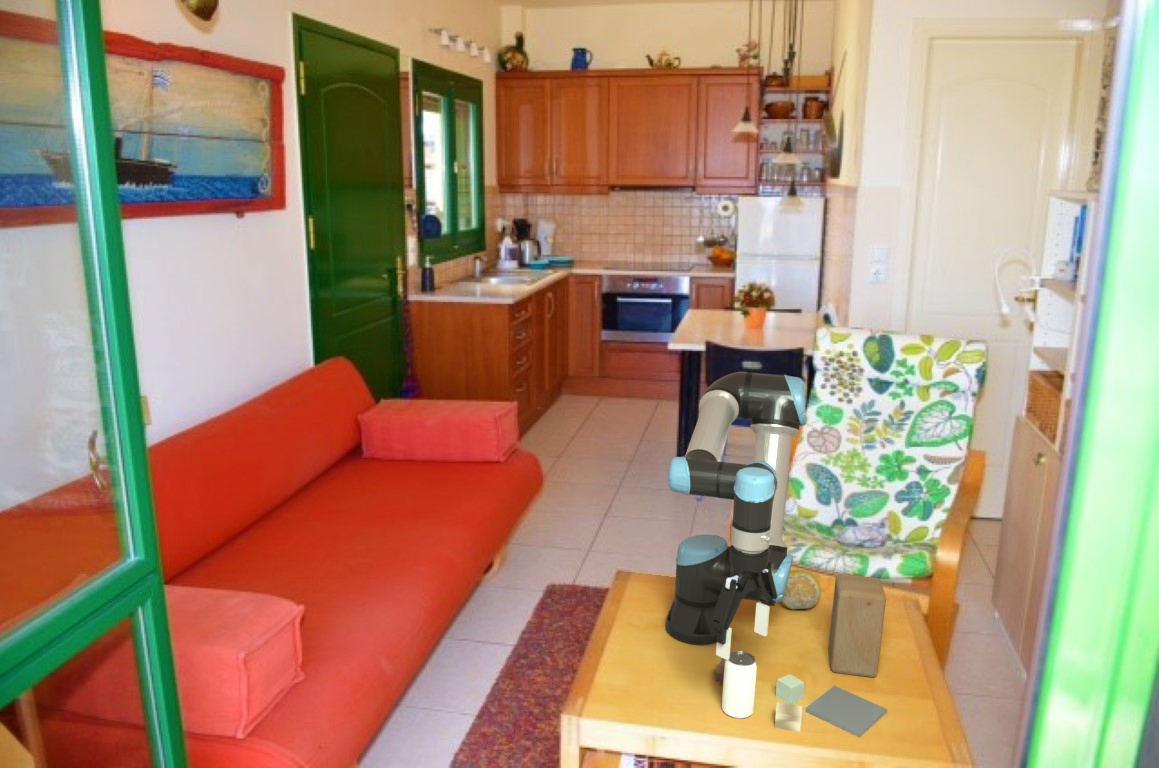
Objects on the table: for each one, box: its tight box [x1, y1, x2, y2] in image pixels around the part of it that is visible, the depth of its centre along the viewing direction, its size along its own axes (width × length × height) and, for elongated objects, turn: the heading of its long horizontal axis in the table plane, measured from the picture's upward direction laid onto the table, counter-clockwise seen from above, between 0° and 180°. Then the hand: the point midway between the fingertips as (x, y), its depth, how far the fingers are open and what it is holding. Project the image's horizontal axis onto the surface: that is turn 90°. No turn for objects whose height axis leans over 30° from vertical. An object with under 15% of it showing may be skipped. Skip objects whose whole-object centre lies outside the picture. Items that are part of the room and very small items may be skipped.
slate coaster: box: [805, 685, 888, 738], centre depth 182 cm, size 12×12×1 cm
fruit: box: [780, 569, 822, 610], centre depth 225 cm, size 10×11×10 cm
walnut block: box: [715, 657, 726, 685], centre depth 192 cm, size 4×4×4 cm
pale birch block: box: [774, 701, 803, 733], centre depth 176 cm, size 5×3×4 cm, turn 76°
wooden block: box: [827, 573, 887, 678], centre depth 198 cm, size 10×10×20 cm
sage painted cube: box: [775, 673, 805, 705], centre depth 186 cm, size 4×4×4 cm
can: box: [721, 650, 758, 720], centre depth 180 cm, size 6×6×12 cm
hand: (742, 645), depth 178 cm, fingers open, 13 cm apart
